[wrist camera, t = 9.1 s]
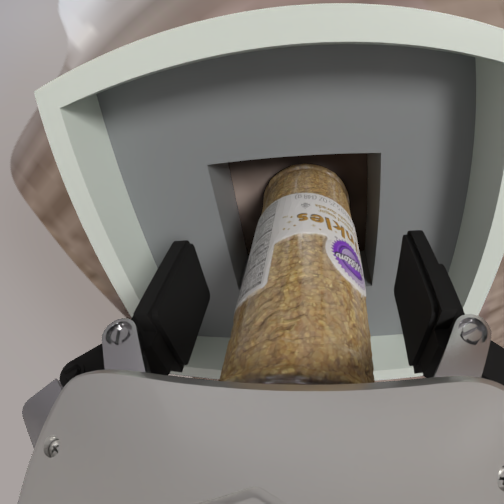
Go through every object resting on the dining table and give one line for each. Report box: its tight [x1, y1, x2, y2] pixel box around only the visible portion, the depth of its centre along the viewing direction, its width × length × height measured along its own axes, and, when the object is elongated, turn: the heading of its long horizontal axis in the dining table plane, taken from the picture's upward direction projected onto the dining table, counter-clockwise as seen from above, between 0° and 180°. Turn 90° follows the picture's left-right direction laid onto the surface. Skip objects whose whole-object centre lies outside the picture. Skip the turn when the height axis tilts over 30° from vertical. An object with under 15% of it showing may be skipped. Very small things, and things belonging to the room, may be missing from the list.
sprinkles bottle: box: [219, 163, 374, 385], centre depth 11 cm, size 5×4×14 cm
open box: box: [34, 3, 504, 381], centre depth 14 cm, size 18×18×6 cm
